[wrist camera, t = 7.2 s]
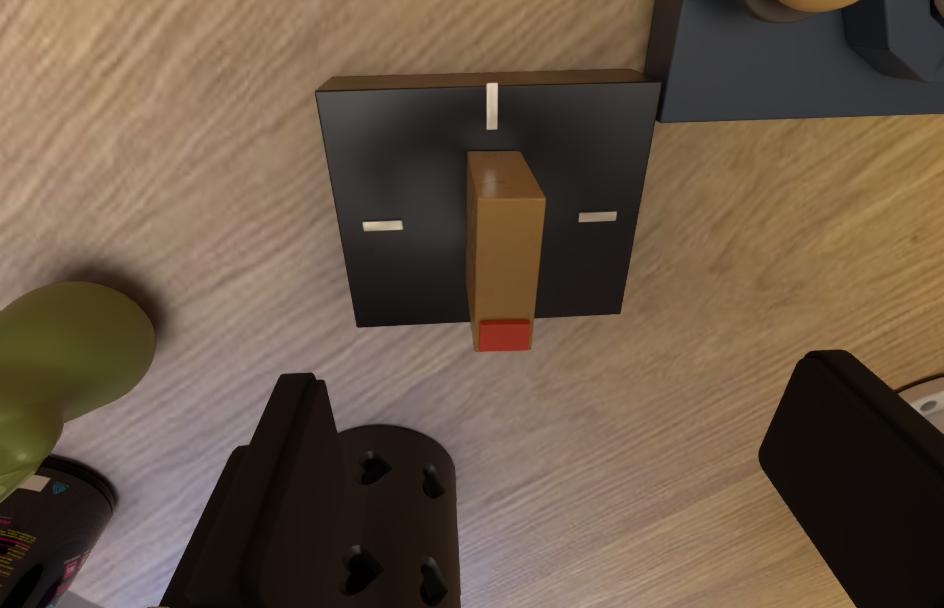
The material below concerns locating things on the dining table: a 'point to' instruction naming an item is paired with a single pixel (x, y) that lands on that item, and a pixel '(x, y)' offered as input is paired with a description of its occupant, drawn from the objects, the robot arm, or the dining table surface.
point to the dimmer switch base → (445, 182)
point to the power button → (940, 6)
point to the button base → (796, 62)
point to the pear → (63, 366)
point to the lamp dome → (788, 9)
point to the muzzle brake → (395, 525)
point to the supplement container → (49, 533)
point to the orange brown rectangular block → (502, 249)
